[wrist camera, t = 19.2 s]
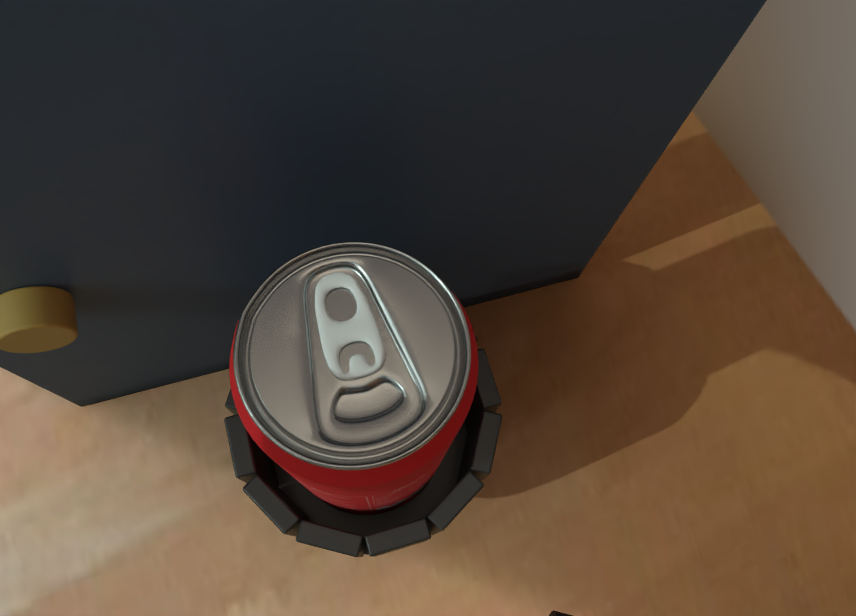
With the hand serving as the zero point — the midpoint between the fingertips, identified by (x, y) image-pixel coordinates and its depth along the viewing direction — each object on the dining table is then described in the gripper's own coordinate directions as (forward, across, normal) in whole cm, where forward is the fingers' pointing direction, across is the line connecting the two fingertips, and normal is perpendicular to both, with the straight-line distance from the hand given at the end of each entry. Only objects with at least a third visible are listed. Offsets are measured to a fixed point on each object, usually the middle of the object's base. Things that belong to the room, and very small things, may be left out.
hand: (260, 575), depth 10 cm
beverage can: (+14, 0, +8) cm, 16 cm away
